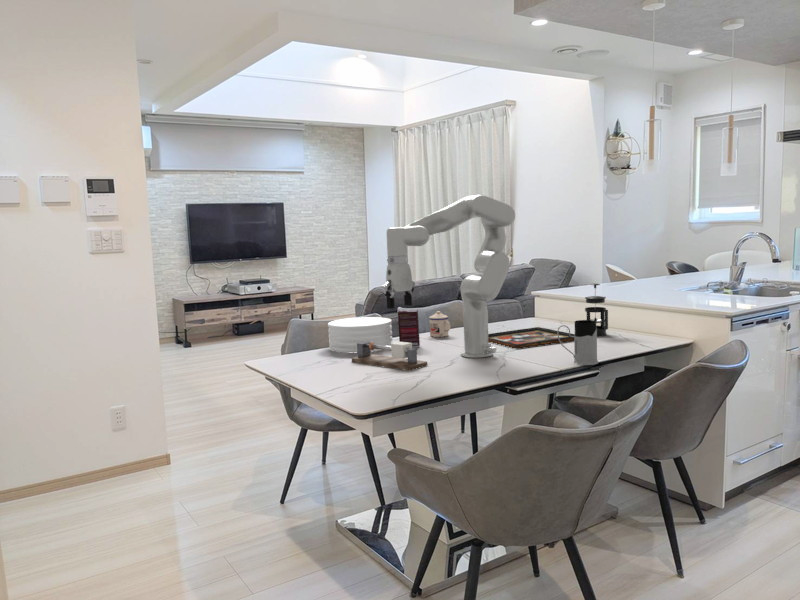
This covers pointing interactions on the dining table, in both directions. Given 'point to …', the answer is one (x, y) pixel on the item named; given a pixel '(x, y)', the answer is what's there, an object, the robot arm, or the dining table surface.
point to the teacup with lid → (439, 325)
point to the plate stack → (359, 333)
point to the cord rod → (366, 348)
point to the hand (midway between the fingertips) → (399, 306)
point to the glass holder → (584, 342)
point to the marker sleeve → (400, 349)
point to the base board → (389, 362)
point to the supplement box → (409, 327)
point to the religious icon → (529, 337)
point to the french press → (604, 321)
